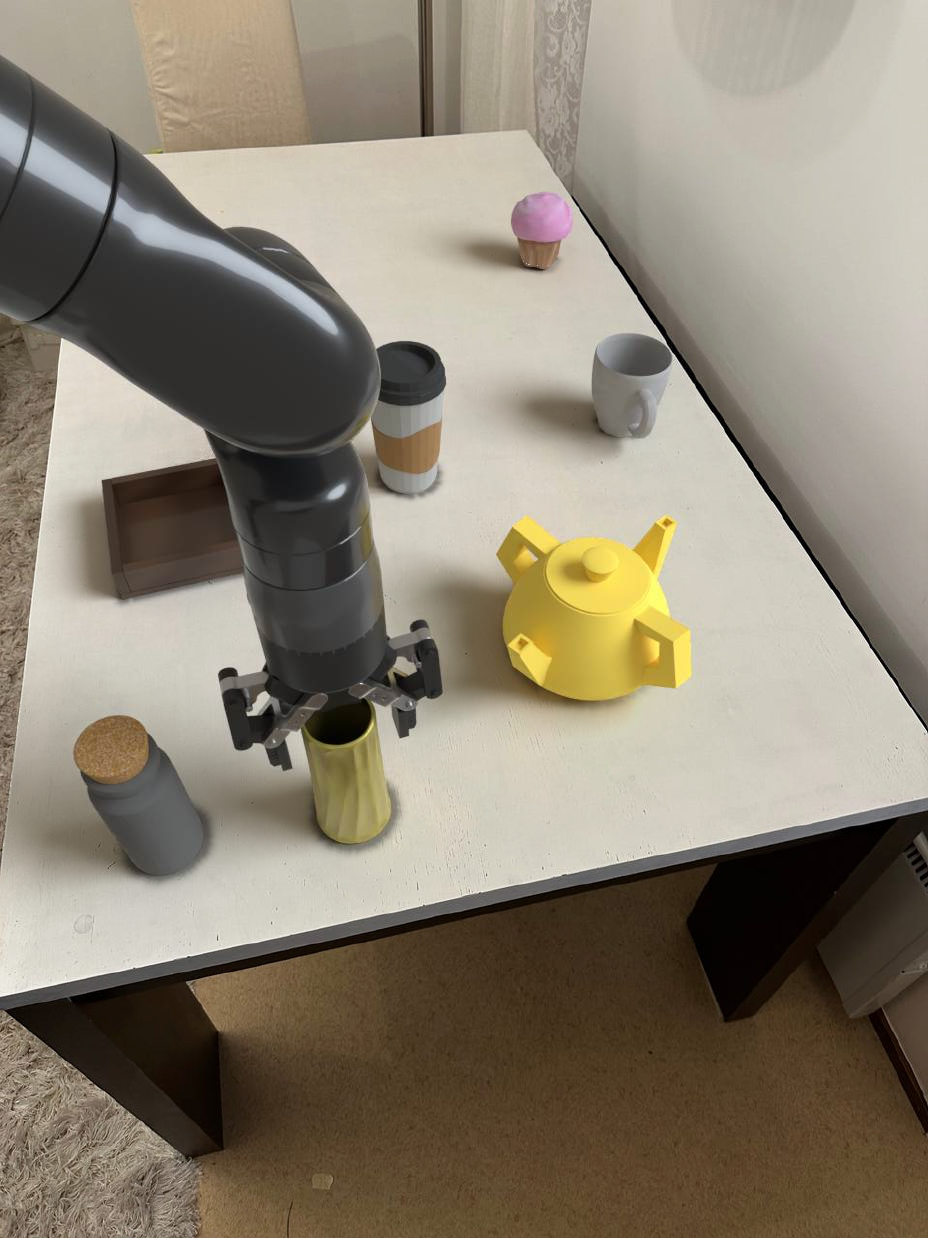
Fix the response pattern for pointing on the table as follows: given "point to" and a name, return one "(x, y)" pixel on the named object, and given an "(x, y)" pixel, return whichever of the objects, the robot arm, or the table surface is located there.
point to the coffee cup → (408, 415)
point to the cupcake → (541, 227)
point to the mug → (629, 383)
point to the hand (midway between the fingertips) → (344, 743)
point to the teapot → (592, 613)
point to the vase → (347, 772)
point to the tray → (169, 528)
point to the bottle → (138, 795)
